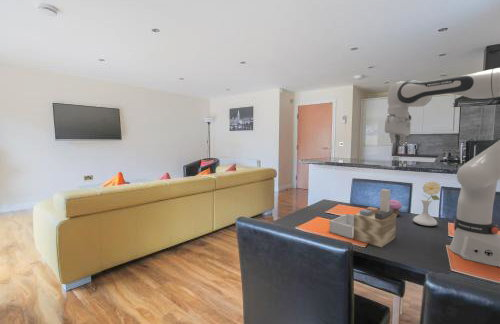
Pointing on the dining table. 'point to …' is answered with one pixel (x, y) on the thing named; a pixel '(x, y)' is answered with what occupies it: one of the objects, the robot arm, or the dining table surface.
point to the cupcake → (395, 206)
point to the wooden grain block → (374, 229)
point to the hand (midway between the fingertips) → (397, 143)
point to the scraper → (384, 205)
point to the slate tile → (366, 212)
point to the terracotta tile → (372, 209)
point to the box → (343, 226)
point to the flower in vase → (424, 217)
